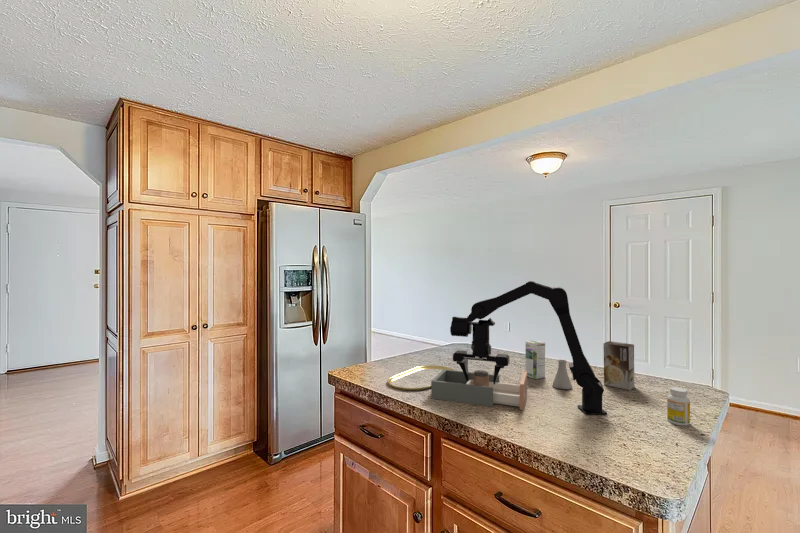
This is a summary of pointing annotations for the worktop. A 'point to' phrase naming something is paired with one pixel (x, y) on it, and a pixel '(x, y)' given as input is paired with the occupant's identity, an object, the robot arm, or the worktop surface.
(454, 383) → the dock
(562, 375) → the flask
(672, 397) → the supplement bottle
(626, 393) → the worktop surface
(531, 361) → the syrup box
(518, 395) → the tray
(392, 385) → the gold oval hoop
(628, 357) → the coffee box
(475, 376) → the spice jar
